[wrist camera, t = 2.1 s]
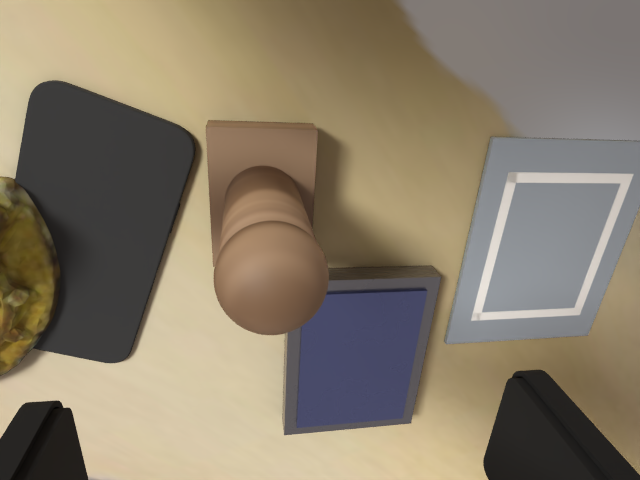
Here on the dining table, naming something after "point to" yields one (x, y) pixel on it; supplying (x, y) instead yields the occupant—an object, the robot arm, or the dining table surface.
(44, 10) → the dining table surface
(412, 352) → the ink pad
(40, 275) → the brass ornament
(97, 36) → the dining table surface
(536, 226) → the stamp card
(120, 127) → the phone
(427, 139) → the dining table surface
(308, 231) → the stamp
